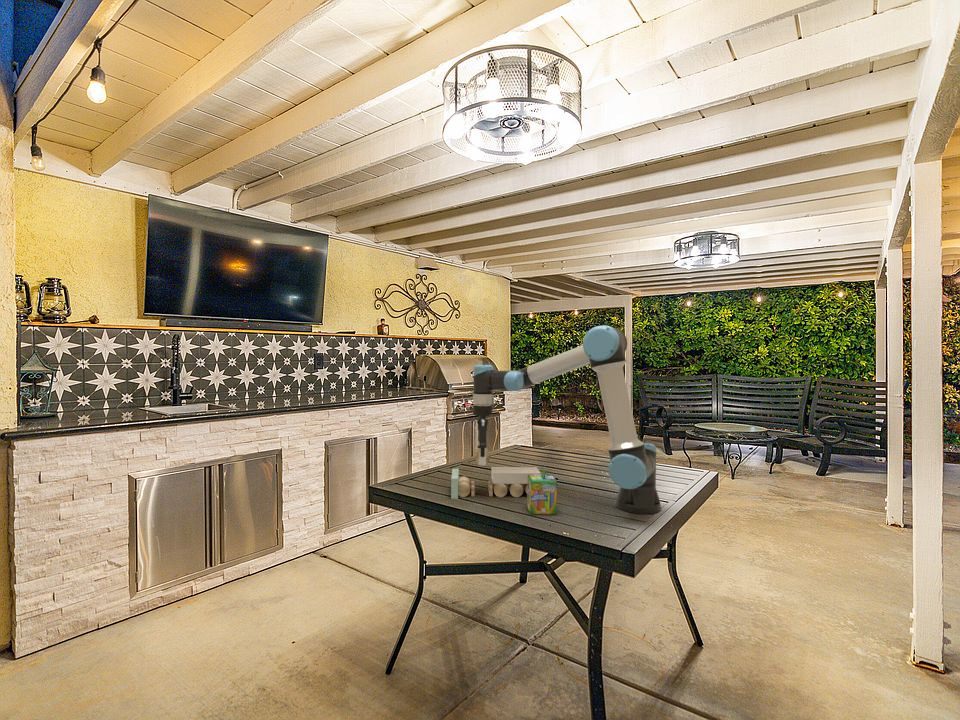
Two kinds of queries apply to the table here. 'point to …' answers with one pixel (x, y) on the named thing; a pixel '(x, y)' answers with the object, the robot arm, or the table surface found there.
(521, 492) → the roller bed
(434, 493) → the table surface
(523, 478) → the slab
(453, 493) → the board
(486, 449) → the roller
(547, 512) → the chalk box
